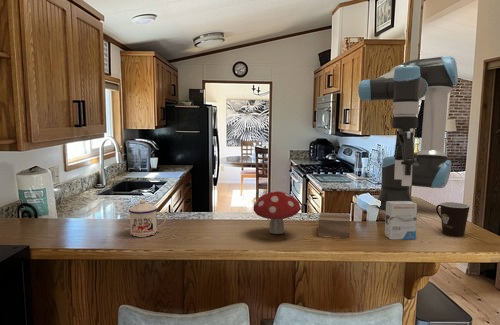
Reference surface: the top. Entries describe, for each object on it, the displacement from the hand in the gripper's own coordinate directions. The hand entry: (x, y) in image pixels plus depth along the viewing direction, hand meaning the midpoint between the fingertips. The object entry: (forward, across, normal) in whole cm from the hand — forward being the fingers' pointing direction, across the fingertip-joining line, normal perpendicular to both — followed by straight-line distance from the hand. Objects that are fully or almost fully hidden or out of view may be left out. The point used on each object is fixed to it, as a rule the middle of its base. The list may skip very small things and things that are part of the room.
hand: (402, 182), depth 117 cm
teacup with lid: (+19, +14, -83) cm, 86 cm away
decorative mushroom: (+18, +6, -40) cm, 44 cm away
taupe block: (+18, 0, -21) cm, 28 cm away
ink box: (+18, 0, 0) cm, 18 cm away
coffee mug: (+18, -9, +18) cm, 27 cm away
